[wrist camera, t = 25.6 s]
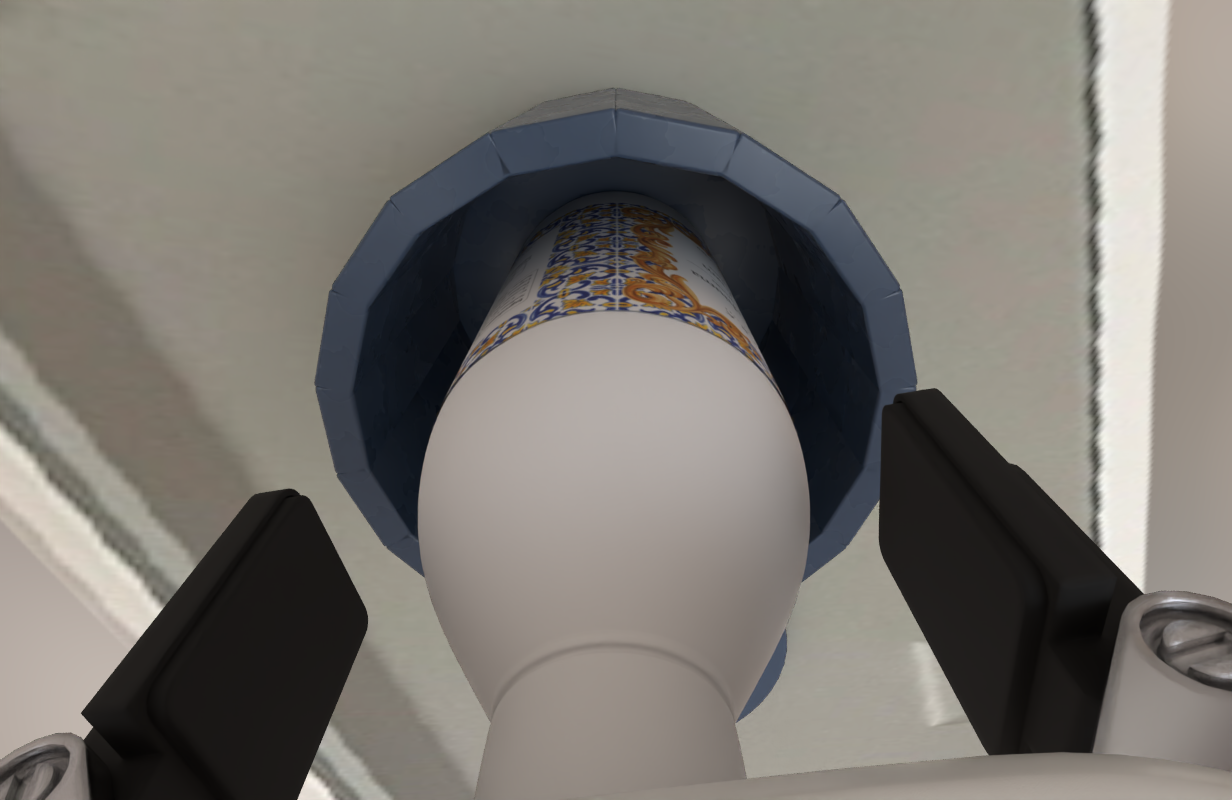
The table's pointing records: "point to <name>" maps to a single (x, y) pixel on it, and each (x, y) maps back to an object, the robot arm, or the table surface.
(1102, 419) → the table surface
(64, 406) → the table surface
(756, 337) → the tin
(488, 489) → the bath foam
